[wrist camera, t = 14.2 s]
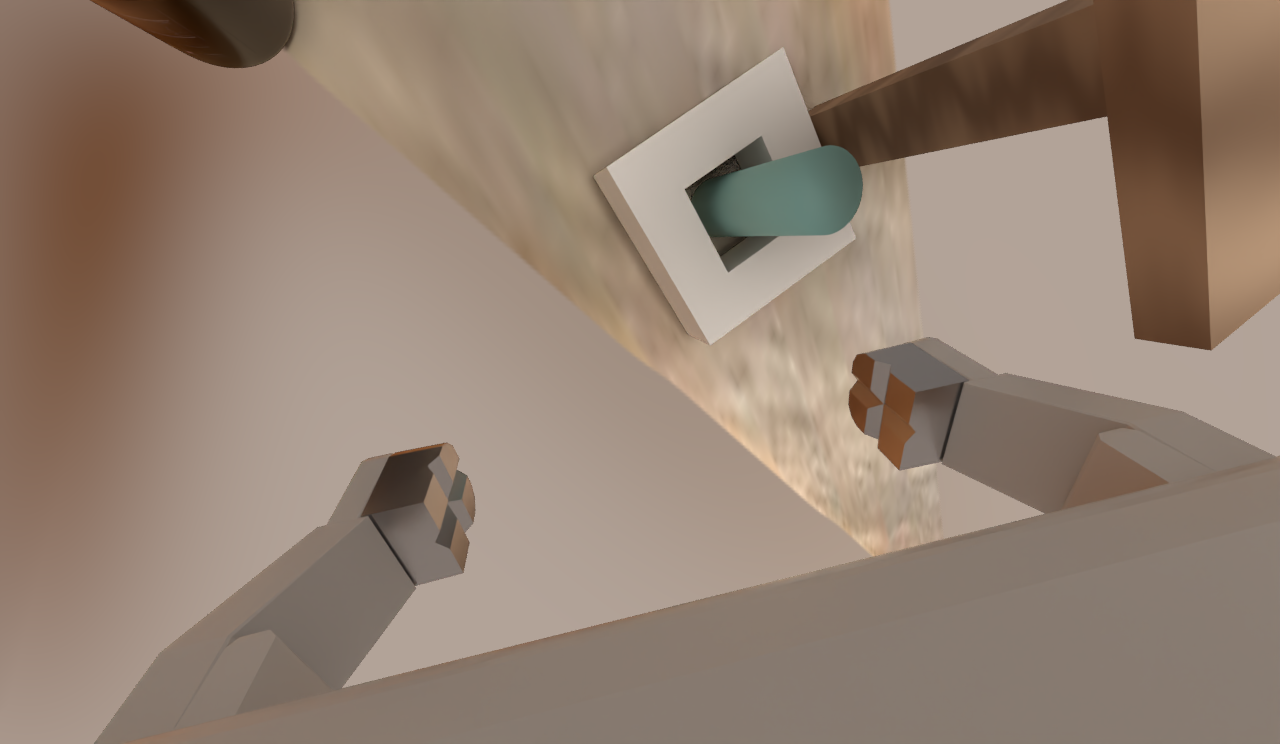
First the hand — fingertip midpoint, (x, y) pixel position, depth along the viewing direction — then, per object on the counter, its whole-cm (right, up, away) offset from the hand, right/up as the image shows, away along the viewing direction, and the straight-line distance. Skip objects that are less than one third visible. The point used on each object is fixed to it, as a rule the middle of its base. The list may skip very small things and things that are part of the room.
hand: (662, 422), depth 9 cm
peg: (+5, +13, +23) cm, 27 cm away
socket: (+5, +13, +24) cm, 27 cm away
